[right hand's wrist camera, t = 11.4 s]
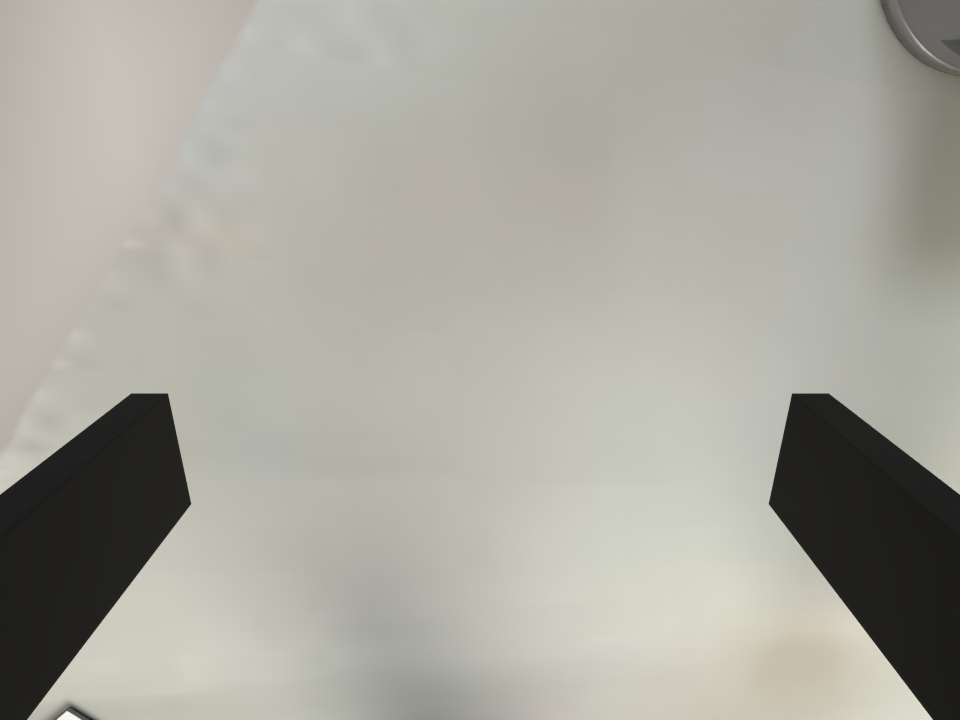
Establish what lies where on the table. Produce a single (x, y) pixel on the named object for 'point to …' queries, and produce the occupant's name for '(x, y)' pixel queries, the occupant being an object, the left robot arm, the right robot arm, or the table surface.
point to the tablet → (71, 715)
